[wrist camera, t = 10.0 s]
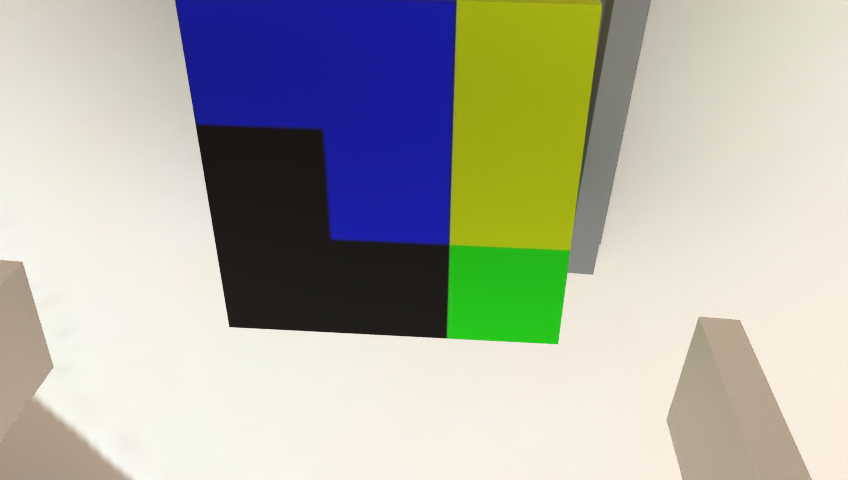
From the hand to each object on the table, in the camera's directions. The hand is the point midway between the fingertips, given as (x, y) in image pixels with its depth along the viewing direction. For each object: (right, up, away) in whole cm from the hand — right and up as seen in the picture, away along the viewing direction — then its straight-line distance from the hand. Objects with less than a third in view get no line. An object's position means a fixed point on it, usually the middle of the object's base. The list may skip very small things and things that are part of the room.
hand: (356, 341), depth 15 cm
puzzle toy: (+1, +9, +14) cm, 16 cm away
